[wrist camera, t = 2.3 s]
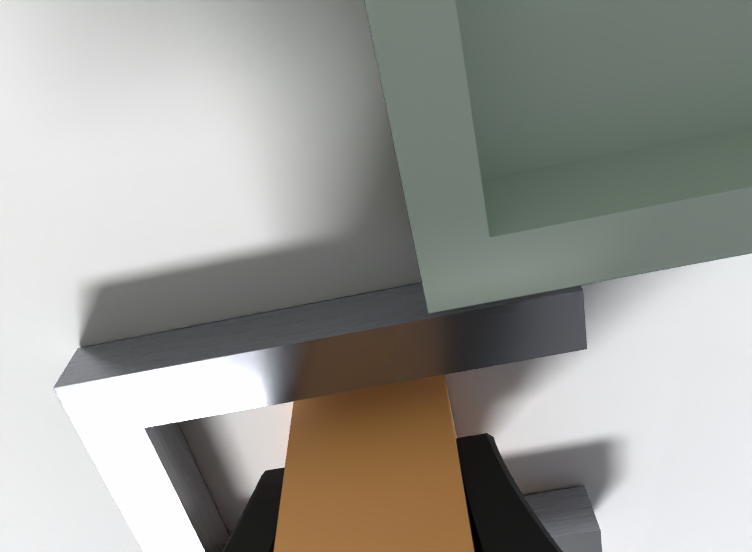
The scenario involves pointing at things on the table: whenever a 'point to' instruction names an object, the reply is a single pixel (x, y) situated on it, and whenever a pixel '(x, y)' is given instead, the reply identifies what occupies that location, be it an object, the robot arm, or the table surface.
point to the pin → (374, 473)
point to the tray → (566, 138)
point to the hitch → (292, 391)
